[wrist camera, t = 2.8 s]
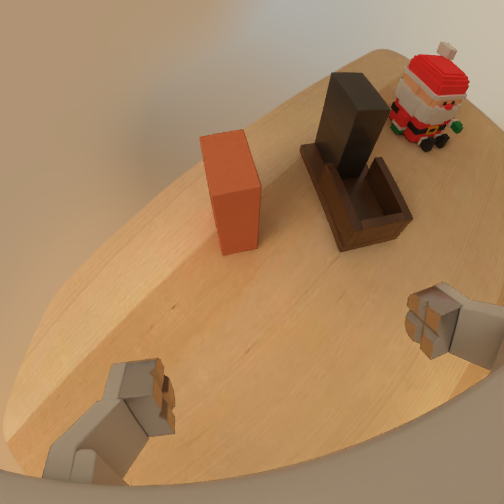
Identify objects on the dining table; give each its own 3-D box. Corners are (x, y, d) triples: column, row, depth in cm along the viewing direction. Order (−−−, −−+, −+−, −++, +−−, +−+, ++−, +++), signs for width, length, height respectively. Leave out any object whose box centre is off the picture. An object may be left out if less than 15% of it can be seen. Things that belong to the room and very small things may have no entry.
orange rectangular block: (222, 256, 26) (210, 196, 17) (211, 206, 28) (199, 136, 19) (257, 248, 26) (261, 186, 18) (244, 199, 28) (243, 128, 20)
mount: (339, 252, 26) (381, 186, 17) (299, 150, 30) (314, 72, 21) (395, 239, 27) (449, 176, 17) (350, 145, 31) (376, 73, 22)
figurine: (412, 156, 31) (456, 78, 20) (378, 114, 33) (408, 37, 22) (453, 145, 32) (494, 80, 21) (421, 108, 35) (452, 43, 24)
